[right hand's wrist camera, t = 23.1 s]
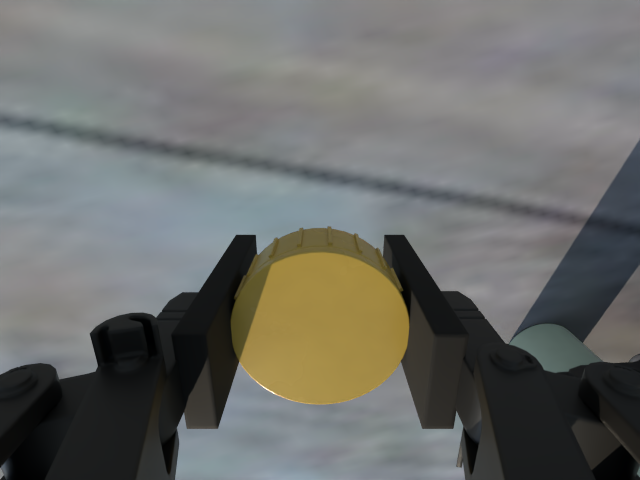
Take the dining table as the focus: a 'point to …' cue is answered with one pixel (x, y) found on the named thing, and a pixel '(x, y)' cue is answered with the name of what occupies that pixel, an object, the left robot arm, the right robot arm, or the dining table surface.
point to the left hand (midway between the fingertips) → (555, 435)
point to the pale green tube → (555, 348)
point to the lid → (320, 317)
